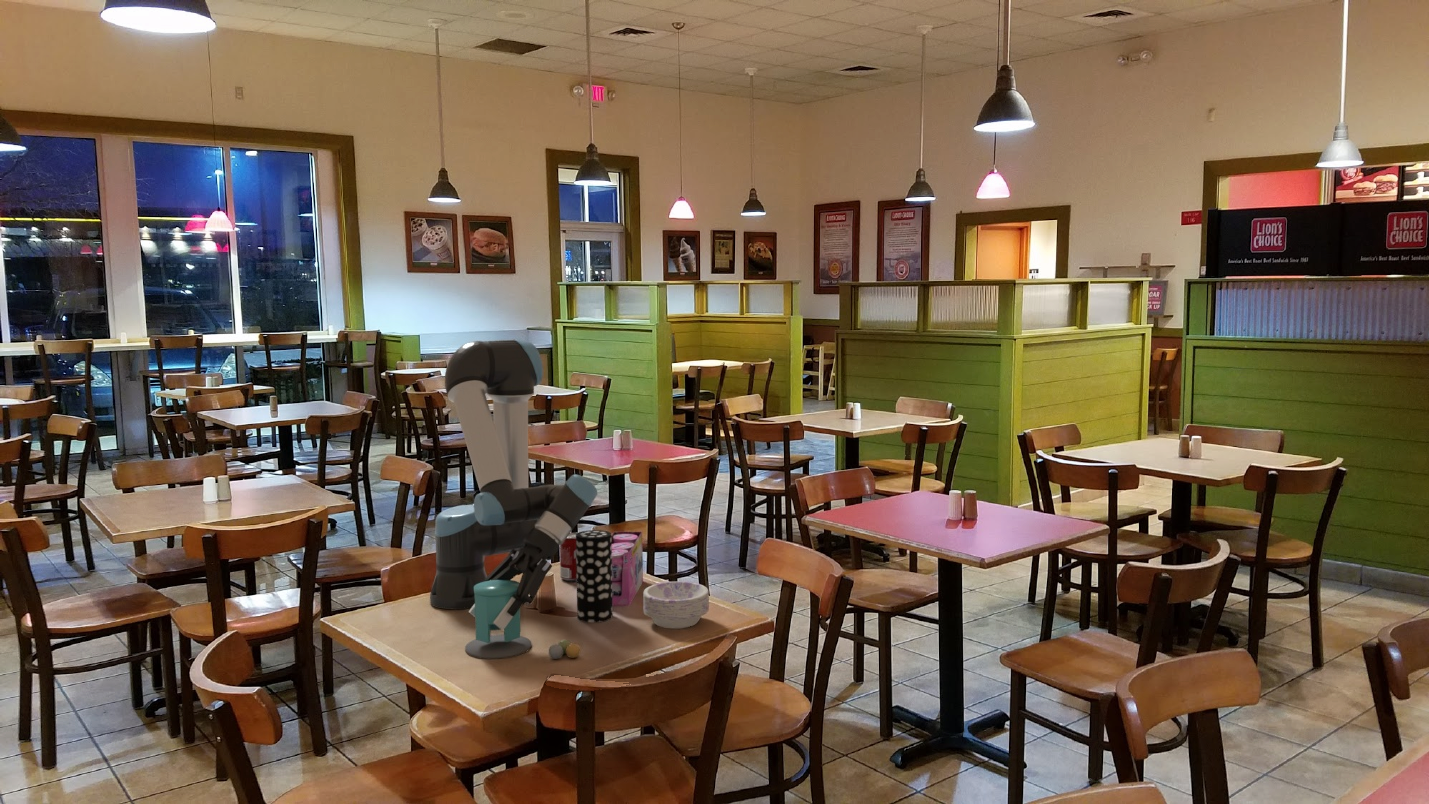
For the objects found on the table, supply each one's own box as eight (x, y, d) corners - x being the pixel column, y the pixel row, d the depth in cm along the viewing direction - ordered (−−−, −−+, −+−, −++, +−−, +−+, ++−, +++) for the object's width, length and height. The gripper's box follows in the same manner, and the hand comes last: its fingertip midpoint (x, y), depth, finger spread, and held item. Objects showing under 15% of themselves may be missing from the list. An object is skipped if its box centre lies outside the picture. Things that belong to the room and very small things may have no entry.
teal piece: (477, 629, 226) (475, 580, 225) (522, 627, 228) (521, 578, 227) (473, 644, 216) (472, 593, 215) (520, 641, 218) (519, 591, 217)
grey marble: (546, 660, 215) (546, 646, 214) (552, 655, 217) (551, 641, 217) (560, 661, 214) (559, 647, 214) (565, 656, 217) (565, 642, 216)
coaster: (453, 656, 217) (453, 653, 217) (483, 635, 231) (483, 632, 231) (515, 661, 214) (514, 658, 214) (541, 639, 228) (541, 636, 228)
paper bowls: (648, 635, 230) (647, 601, 229) (639, 615, 245) (639, 582, 244) (714, 631, 233) (714, 597, 232) (702, 611, 248) (702, 579, 247)
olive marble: (555, 655, 218) (554, 641, 217) (560, 650, 220) (560, 637, 220) (568, 656, 217) (568, 642, 217) (573, 651, 220) (573, 638, 219)
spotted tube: (615, 612, 247) (614, 530, 245) (608, 623, 239) (607, 538, 237) (581, 611, 248) (580, 529, 246) (573, 621, 240) (572, 537, 238)
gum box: (629, 608, 251) (628, 553, 250) (597, 607, 252) (596, 553, 250) (643, 581, 275) (643, 531, 273) (614, 580, 275) (613, 530, 274)
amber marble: (563, 659, 215) (563, 645, 215) (569, 654, 218) (568, 641, 218) (577, 660, 214) (577, 646, 214) (582, 655, 217) (582, 642, 217)
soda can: (567, 583, 272) (567, 539, 271) (556, 578, 277) (555, 534, 276) (590, 579, 276) (589, 535, 275) (578, 574, 281) (577, 531, 280)
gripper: (585, 555, 222) (524, 642, 213) (530, 538, 239) (471, 618, 230) (564, 535, 218) (501, 623, 209) (509, 519, 235) (448, 600, 226)
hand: (485, 621), depth 220 cm, fingers closed on teal piece, 10 cm apart
